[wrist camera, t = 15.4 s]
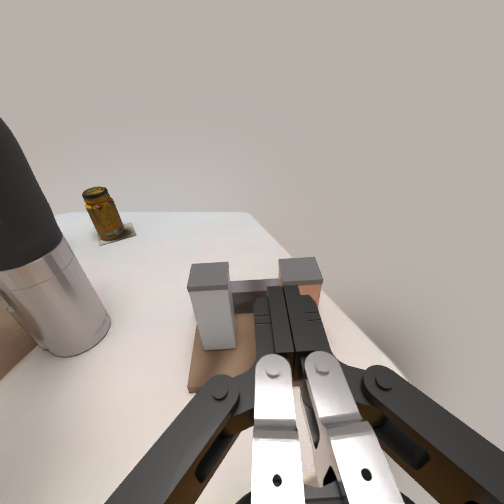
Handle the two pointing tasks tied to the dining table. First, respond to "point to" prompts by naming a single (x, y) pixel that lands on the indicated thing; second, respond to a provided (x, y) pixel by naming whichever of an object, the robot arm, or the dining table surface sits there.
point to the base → (245, 351)
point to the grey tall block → (213, 304)
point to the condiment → (105, 216)
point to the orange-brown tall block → (301, 275)
